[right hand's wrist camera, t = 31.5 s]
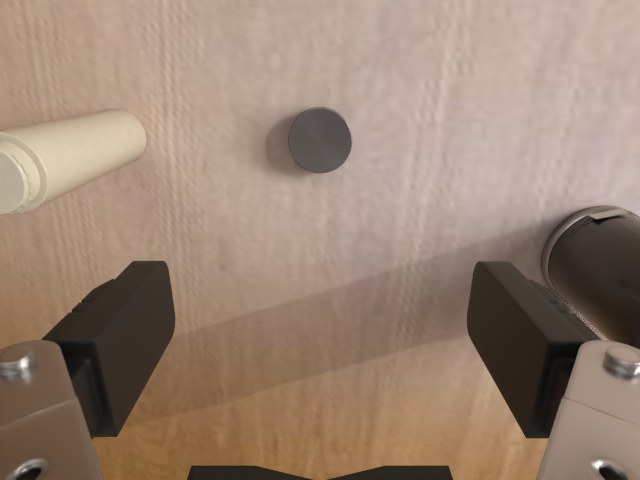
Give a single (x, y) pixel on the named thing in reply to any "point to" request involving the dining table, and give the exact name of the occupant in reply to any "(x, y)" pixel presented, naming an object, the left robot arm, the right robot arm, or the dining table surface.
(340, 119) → the lid
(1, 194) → the cream capped cylinder
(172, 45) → the dining table surface
